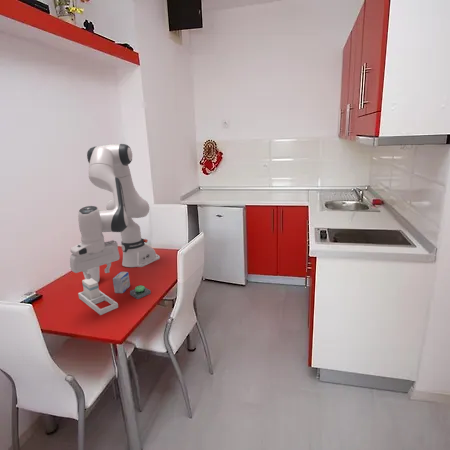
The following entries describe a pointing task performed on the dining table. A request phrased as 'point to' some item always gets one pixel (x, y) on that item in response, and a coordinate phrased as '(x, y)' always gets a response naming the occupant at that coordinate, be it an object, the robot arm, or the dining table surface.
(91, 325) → the dining table surface
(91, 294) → the seated billet
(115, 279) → the medicine box
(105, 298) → the white rectangular tray
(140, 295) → the grey button housing
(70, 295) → the dining table surface
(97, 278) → the foam cup
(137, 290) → the button
